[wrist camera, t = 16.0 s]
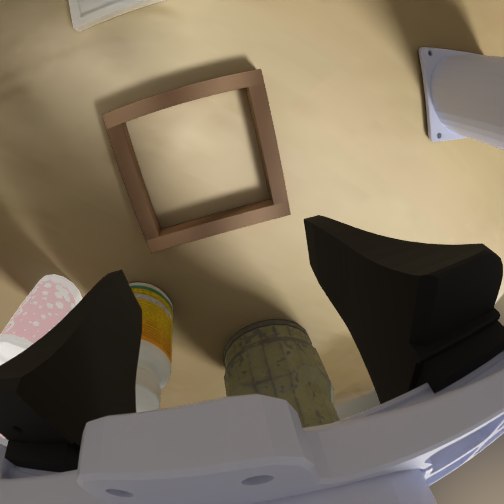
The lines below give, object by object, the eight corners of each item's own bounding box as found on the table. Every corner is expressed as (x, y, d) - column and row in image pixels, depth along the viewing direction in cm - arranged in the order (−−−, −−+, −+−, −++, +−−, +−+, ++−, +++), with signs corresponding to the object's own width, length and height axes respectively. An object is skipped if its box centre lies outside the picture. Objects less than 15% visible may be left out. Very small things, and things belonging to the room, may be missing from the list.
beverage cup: (68, 257, 21) (-7, 403, 9) (103, 315, 24) (68, 464, 12) (18, 277, 21) (-55, 403, 9) (53, 329, 24) (9, 458, 12)
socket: (257, 70, 17) (260, 68, 16) (286, 208, 22) (290, 214, 21) (107, 113, 17) (102, 114, 16) (152, 245, 22) (151, 253, 21)
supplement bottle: (170, 334, 26) (169, 427, 18) (111, 325, 25) (91, 416, 16) (177, 284, 24) (174, 381, 16) (111, 274, 22) (80, 367, 14)
